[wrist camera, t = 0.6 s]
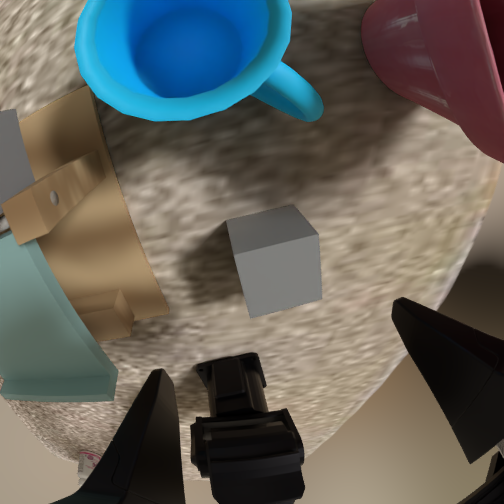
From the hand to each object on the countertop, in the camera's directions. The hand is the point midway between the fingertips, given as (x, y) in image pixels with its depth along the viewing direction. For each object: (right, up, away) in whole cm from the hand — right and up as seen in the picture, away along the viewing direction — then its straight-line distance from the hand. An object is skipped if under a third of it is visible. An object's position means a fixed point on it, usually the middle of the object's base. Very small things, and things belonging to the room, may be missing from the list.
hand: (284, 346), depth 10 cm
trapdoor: (-18, +2, +4) cm, 18 cm away
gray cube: (0, +4, +12) cm, 13 cm away
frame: (-18, +4, +8) cm, 21 cm away
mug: (-3, +15, +5) cm, 16 cm away
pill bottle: (-34, -38, +29) cm, 59 cm away
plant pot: (+11, +19, +5) cm, 23 cm away
